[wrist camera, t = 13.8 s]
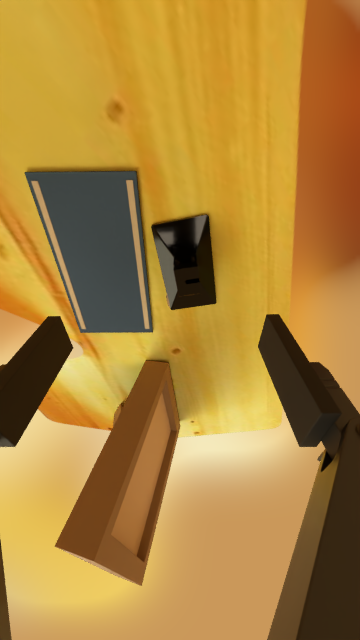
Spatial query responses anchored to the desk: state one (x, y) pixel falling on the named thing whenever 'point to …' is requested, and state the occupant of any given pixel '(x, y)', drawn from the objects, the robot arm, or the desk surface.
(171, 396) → the photo frame
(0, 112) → the desk surface
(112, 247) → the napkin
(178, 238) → the build plate
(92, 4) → the desk surface
